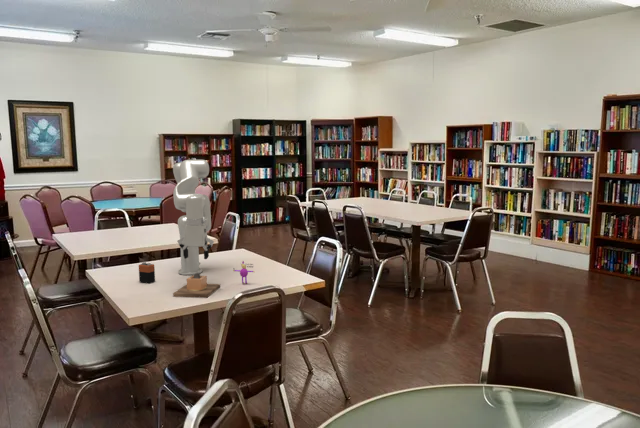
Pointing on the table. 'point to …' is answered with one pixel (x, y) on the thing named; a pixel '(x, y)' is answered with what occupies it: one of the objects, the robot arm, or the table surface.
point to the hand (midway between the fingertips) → (196, 258)
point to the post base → (196, 293)
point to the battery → (146, 273)
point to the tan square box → (196, 283)
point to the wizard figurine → (244, 271)
